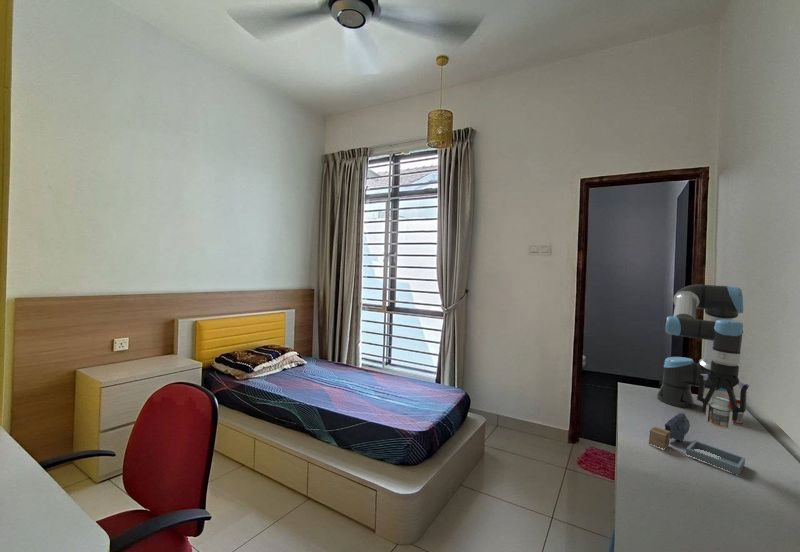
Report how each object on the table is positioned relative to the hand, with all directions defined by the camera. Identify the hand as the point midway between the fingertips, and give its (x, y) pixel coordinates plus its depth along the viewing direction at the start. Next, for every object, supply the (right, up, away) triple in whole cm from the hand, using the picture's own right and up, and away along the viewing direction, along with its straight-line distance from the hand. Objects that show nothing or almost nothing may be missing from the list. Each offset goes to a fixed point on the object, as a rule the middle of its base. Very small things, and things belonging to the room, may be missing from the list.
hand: (718, 424), depth 131 cm
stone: (-3, -13, +16) cm, 21 cm away
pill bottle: (0, -1, 0) cm, 1 cm away
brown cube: (-14, -13, +11) cm, 22 cm away
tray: (-1, -14, +1) cm, 14 cm away
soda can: (+38, -13, +34) cm, 53 cm away
